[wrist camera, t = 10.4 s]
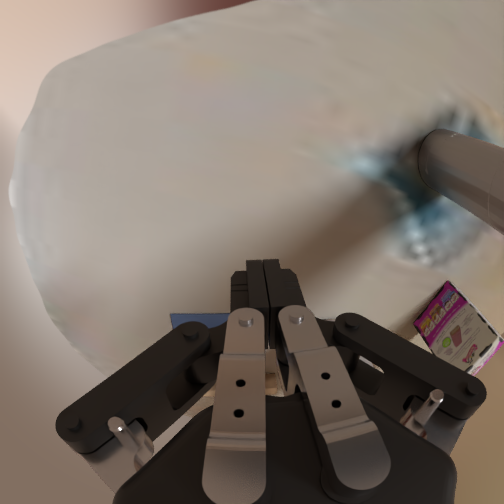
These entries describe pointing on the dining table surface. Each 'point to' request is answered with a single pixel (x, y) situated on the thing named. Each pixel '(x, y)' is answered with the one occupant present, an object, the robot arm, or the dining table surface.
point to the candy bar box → (458, 330)
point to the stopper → (269, 385)
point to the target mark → (200, 319)
